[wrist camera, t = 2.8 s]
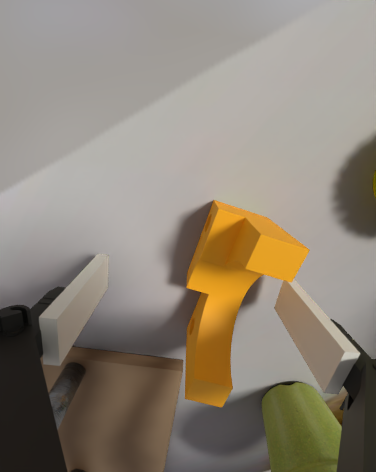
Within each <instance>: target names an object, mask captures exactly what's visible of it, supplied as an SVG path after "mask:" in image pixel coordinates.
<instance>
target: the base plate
mask: <svg viewBox="0 0 376 472" xmlns="http://www.w3.org/2000/svg"><path fill="white" fill-rule="evenodd" d="M40 360H41V364H42V368H43V372H44V376H45V380H46V385H47V389H48V393H49V391H50V390H51V388H52V386H53V385H54V383H55V382H56V380H57V378H58V377H59V375H60V373H61V372H62V370H63V368H64V367H65V365H66V364H68V363H71V362H75V363H79V364H81V365H82V366H83V367H84V368H85V370H86V373H85V375H84V377H83V379H82V381H81V383H80V386H79V388H78V390H77V392H76V394H75V396H74V398H73V400H72V402H71V404H70V406H69V408H68V410H67V412H66V414H65V416H64V418H63V420H62V422H61V424H60V426H59V428H58V434H59V438H60V442H61V447H62V451H63V455H64V459H65V463H66V467H67V471H68V472H71V470H73V469H81V470H84V471H85V472H164V467H165V462H166V457H167V451H168V446H169V441H170V435H171V430H172V425H173V420H174V414H175V409H176V404H177V399H178V393H179V388H180V383H181V378H182V372H183V360H178V359H170V358H162V357H153V356H145V355H137V354H129V353H121V352H112V351H104V350H96V349H88V348H80V347H71V349H70V350H69V352H68V354H67V355H66V357H65V359H64V360H63V362H62V364H61V365H60V366H55V365H45V364H43V355H42V357H41V358H40Z"/></svg>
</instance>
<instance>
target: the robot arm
mask: <svg viewBox="0 0 376 472" xmlns="http://www.w3.org/2000/svg"><path fill="white" fill-rule="evenodd" d="M108 266H109V255H104V254H97V255H96V256H95V258H94V259H93V260H92V261H91V262H90V263H89V264H88V265H87V266H86V267H85V268H84V269H83V270H82V271H81V272H80V274H79V275H78V276H77V277H76V278H75V279H74V280H73V281H72V282H71V283H70V284H69V285H68V286H67V287H66V288H64V287H57V288H55V289H53V290H51V291H49V292H48V293H47V294H46V295H45V296H44V297H43V298H42V299H41V300H40V301H39V302H38V303H36V304H35V305H34V306H33V307H32V308H31V309H29V308H28V307H27V306H24V305H14V306H9V307H6V308H3V309H1V310H0V472H68V471H67V467H66V463H65V459H64V455H63V451H62V447H61V442H60V438H59V434H58V430H57V426H56V422H55V418H54V414H53V409H52V405H51V401H50V397H49V393H48V389H47V385H46V380H45V376H44V372H43V368H42V364H41V360H40V358H41V357H42V355H43V364H45V365H55V366H60V365H61V364H62V362H63V360H64V359H65V357H66V355H67V354H68V352H69V350H70V349H71V347H72V346H73V344H74V342H75V341H76V339H77V337H78V336H79V334H80V332H81V331H82V329H83V328H84V326H85V324H86V323H87V321H88V319H89V318H90V316H91V315H92V313H93V311H94V310H95V308H96V306H97V305H98V303H99V301H100V300H101V298H102V297H103V295H104V293H105V292H106V290H107V288H108ZM274 308H275V310H276V312H277V313H278V315H279V317H280V319H281V320H282V322H283V324H284V325H285V327H286V329H287V331H288V332H289V334H290V336H291V337H292V339H293V341H294V343H295V344H296V346H297V348H298V349H299V351H300V353H301V354H302V356H303V358H304V360H305V361H306V363H307V365H308V366H309V368H310V370H311V372H312V373H313V375H314V377H315V378H316V380H317V382H318V383H319V385H320V387H321V389H322V390H323V392H324V393H331V394H339V392H340V390H341V388H342V387H343V386H344V387H345V389H346V390H347V392H348V394H347V396H346V398H345V400H344V402H343V403H342V405H341V407H340V409H341V410H343V408H344V414H343V422H342V430H341V439H340V447H339V455H338V463H337V472H376V359H371V358H370V357H369V356H368V355H367V353H366V352H365V351H364V350H363V349H362V348H361V347H360V346H359V345H358V344H357V343H356V342H355V340H353V339H352V337H351V336H350V335H349V334H347V332H346V331H345V330H344V329H343V327H342V326H341V325H339V324H338V323H337V322H335V321H334V320H332V319H329V318H328V317H327V315H326V314H325V313H324V312H323V311H322V310H321V309H320V308H319V306H318V305H317V304H316V303H315V302H314V301H313V300H312V299H311V297H310V296H309V295H308V294H307V293H306V292H305V291H304V290H303V288H302V287H301V286H300V285H299V284H298V283H297V282H296V281H295V280H294V279H293V281H292V283H291V282H287V281H283V284H282V287H281V290H280V293H279V295H278V298H277V301H276V304H275V307H274Z"/></svg>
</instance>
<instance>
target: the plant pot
mask: <svg viewBox="0 0 376 472" xmlns="http://www.w3.org/2000/svg"><path fill="white" fill-rule="evenodd" d="M262 414H263V420H264V427H265V433H266V439H267V446H268V453H269V460H270V467H271V472H337V463H338V455H339V447H340V439H341V430H342V427H341V425H340V424H339V422H338V421H337V419H336V418H335V416H334V415H333V413H332V412H331V410H330V409H329V407H328V406H327V405H326V403H325V402H324V400H323V399H322V397H321V396H320V395H319V393H318V392H317V391H316V390H315V389H314V388H313V387H311V386H310V385H307V384H304V383H299V382H295V383H294V384H292V385H278V386H276V387H274V388H272V389H271V390H269V391H268V392H267V393H266V394H265V396H264V397H263V399H262Z"/></svg>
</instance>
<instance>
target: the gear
mask: <svg viewBox="0 0 376 472" xmlns="http://www.w3.org/2000/svg"><path fill="white" fill-rule="evenodd" d="M373 192H374V195H375V198H376V170H375V173H374V178H373Z"/></svg>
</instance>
